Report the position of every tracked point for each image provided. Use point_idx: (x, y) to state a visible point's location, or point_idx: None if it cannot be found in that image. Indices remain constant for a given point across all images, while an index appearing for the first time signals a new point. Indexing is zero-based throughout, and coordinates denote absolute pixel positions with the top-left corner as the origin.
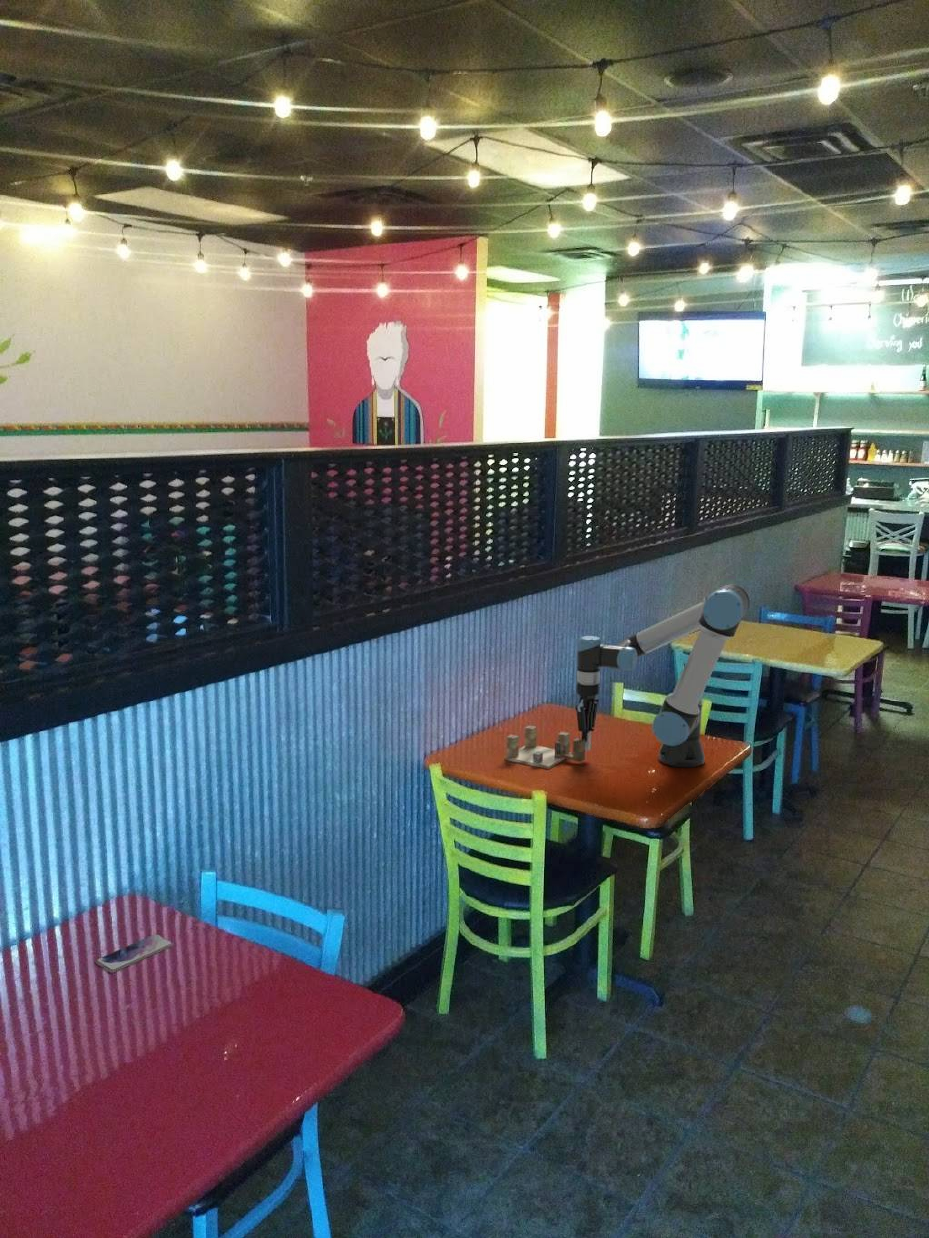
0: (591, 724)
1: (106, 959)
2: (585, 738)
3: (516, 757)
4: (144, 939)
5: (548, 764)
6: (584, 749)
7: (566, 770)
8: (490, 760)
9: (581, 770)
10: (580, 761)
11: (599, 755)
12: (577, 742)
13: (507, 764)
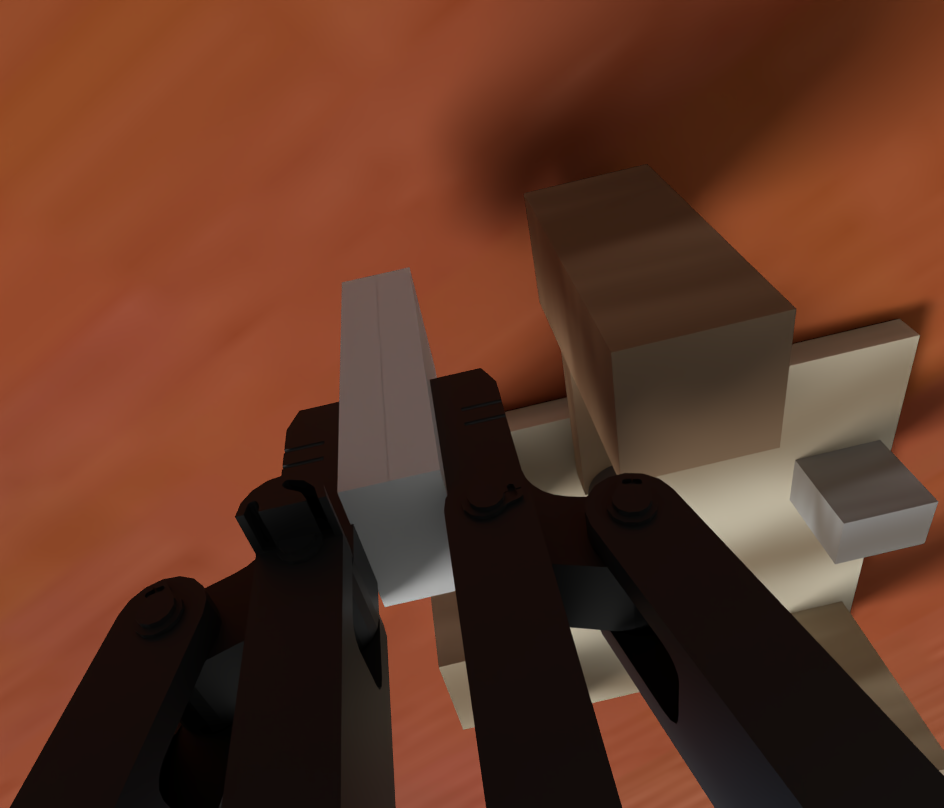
0: (298, 648)
1: None
2: (502, 408)
3: (816, 603)
4: None
5: (869, 367)
6: (580, 254)
7: (861, 163)
8: (885, 650)
9: (776, 18)
10: (649, 170)
11: (106, 244)
12: (777, 362)
13: (919, 562)
